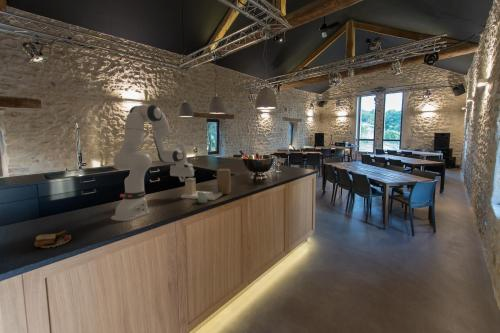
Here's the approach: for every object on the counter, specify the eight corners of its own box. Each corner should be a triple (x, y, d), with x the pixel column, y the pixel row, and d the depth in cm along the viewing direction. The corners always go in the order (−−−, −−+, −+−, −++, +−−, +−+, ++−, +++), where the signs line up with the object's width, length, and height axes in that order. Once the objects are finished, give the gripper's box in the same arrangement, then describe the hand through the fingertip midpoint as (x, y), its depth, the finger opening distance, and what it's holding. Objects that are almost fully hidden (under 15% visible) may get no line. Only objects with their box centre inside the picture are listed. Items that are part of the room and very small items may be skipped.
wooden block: (231, 191, 213) (230, 168, 210) (228, 194, 203) (228, 170, 201) (219, 191, 214) (219, 168, 211) (217, 194, 204) (216, 170, 202)
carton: (192, 194, 197) (191, 179, 195) (185, 193, 198) (184, 179, 197) (196, 192, 203) (195, 178, 201) (189, 192, 204) (188, 177, 203)
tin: (218, 193, 198) (218, 187, 197) (213, 193, 198) (213, 187, 197) (218, 192, 202) (218, 186, 201) (214, 192, 202) (213, 186, 201)
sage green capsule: (204, 203, 180) (204, 193, 179) (196, 202, 181) (195, 193, 180) (209, 200, 186) (208, 191, 185) (200, 199, 188) (200, 190, 187)
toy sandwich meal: (68, 245, 114) (67, 235, 114) (31, 252, 108) (29, 242, 107) (73, 235, 125) (72, 226, 125) (39, 241, 119) (38, 231, 118)
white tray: (214, 200, 187) (214, 197, 186) (181, 197, 194) (181, 195, 194) (222, 195, 202) (222, 192, 202) (191, 192, 209) (191, 190, 209)
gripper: (167, 164, 199) (168, 181, 201) (190, 165, 194) (191, 183, 196) (172, 163, 205) (173, 180, 207) (194, 164, 200) (195, 181, 202)
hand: (182, 181), depth 201 cm, fingers closed
